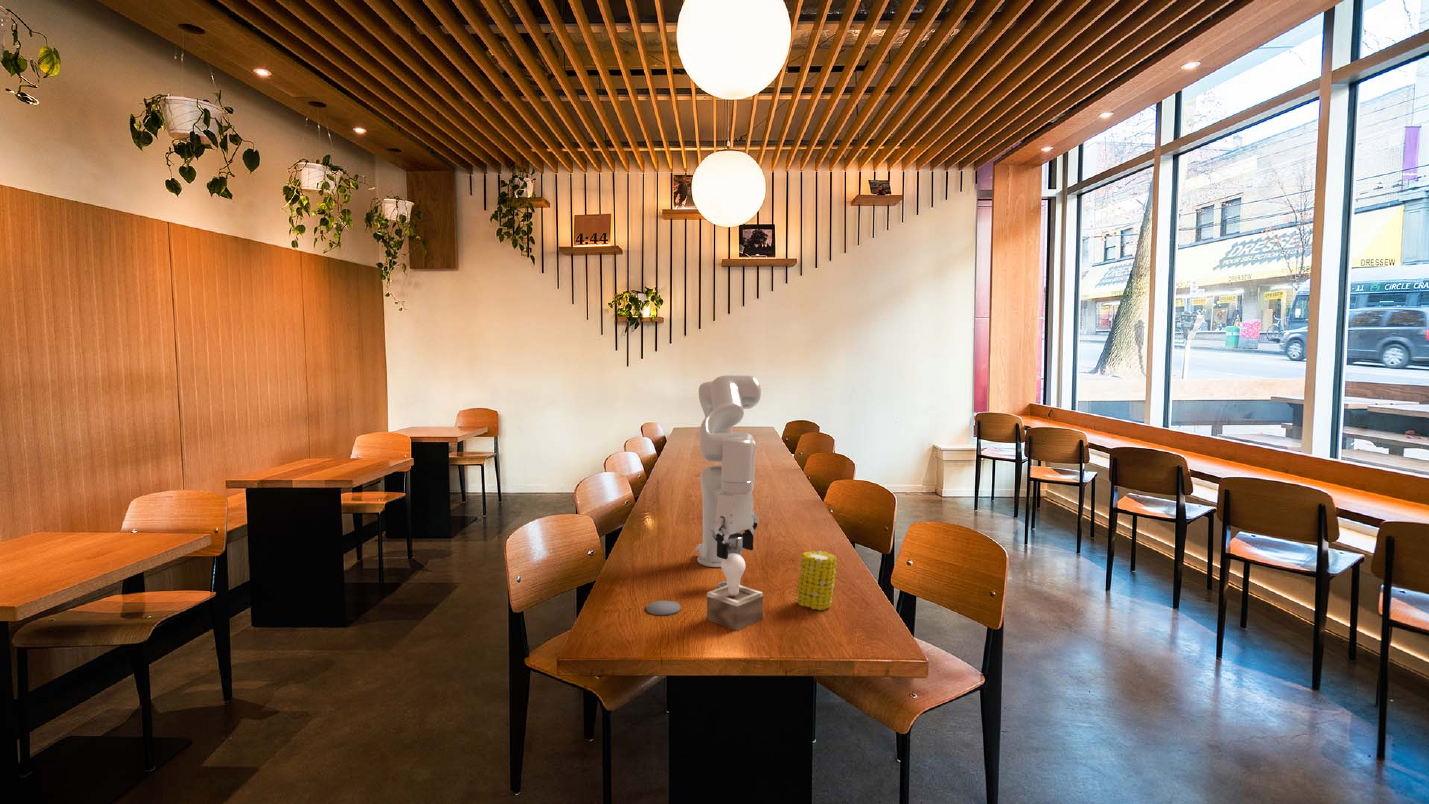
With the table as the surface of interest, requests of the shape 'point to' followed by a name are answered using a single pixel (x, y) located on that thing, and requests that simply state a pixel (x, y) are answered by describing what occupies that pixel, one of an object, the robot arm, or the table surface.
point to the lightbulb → (733, 572)
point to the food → (816, 580)
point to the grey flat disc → (663, 608)
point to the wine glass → (733, 549)
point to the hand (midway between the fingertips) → (735, 553)
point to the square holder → (735, 607)
